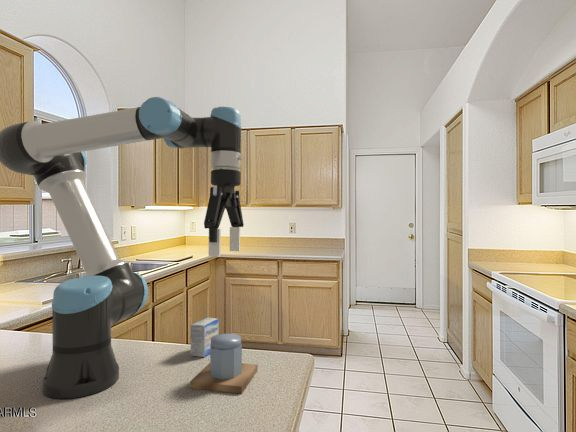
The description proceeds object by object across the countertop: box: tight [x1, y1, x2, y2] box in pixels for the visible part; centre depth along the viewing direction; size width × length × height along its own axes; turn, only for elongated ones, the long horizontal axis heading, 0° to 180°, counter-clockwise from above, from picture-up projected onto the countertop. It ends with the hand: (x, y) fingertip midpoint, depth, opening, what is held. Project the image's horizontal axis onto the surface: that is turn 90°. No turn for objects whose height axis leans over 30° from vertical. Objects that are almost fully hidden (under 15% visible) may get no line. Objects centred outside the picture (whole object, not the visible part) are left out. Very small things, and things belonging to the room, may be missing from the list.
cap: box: [209, 333, 243, 379], centre depth 86 cm, size 7×7×8 cm
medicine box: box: [190, 317, 220, 358], centre depth 103 cm, size 8×4×9 cm, turn 161°
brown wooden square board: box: [189, 362, 259, 394], centre depth 86 cm, size 12×12×6 cm
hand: (225, 253), depth 93 cm, fingers open, 13 cm apart
